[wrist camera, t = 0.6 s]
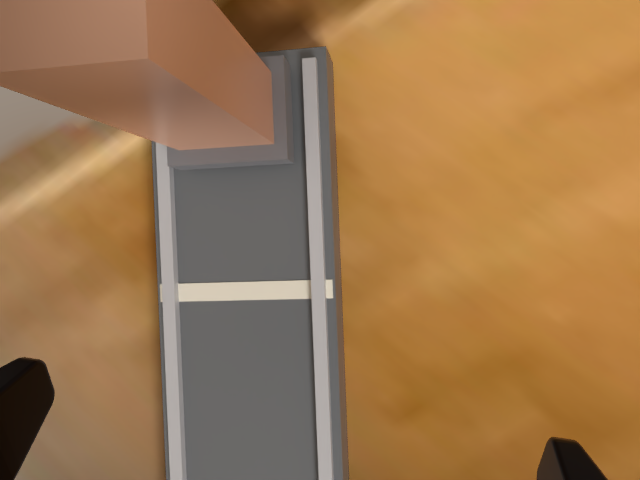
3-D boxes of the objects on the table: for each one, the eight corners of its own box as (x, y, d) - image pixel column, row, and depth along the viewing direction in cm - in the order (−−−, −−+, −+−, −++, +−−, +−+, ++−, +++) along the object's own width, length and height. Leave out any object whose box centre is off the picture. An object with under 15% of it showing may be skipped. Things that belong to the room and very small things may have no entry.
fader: (294, 163, 20) (174, 87, 9) (180, 170, 21) (-51, 107, 10) (290, 65, 20) (165, -121, 9) (176, 75, 21) (-60, -89, 10)
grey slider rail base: (351, 550, 22) (345, 588, 20) (189, 542, 23) (165, 577, 21) (332, 62, 22) (324, 42, 20) (170, 77, 23) (143, 59, 21)
